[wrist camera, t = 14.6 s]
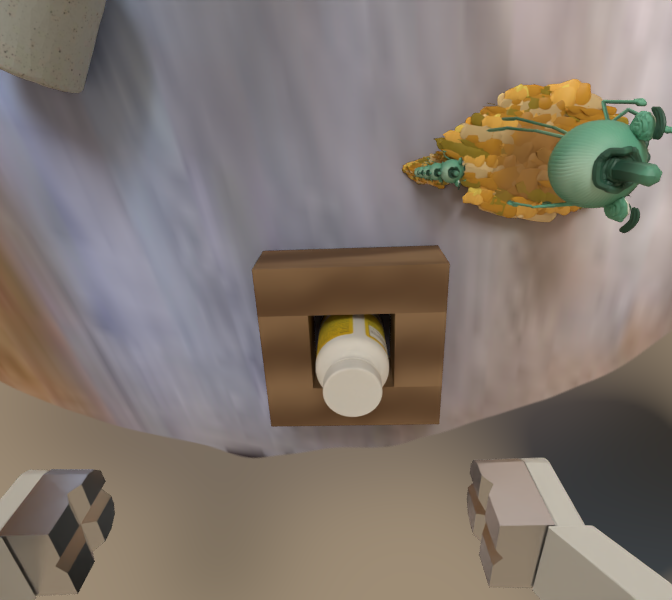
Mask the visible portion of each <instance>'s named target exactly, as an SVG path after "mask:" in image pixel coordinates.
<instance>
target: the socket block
mask: <svg viewBox="0 0 672 600" xmlns="http://www.w3.org/2000/svg"><path fill="white" fill-rule="evenodd" d="M449 267H450V263H449V262H448V260H447V259H446V257H445V256H444V254H443V253H442V251H441V250H440V248H439V246H438V245H435V246H403V247H371V248H340V249H308V250H276V251H263V252H262V254H261V255H260V257H259V259H258V260H257V262H256V264H255V265H254V267H253V269H252V275H253V283H254V291H255V299H256V307H257V315H258V323H259V331H260V339H261V347H262V355H263V363H264V371H265V379H266V387H267V395H268V403H269V411H270V419H271V426H339V425H409V424H439V419H440V403H441V388H442V373H443V358H444V343H445V328H446V313H447V298H448V282H449ZM355 314H390V358H388V359H389V374H388V378H387V380H386V383H385V384H384V386H383V387H382V398H381V401H380V403H379V404H378V406H377V407H376V408H375V409H374V410H373V411H371V412H370V413H368V414H366V415H363V416H358V417H347V416H343V415H340V414H338V413H336V412H334V411H333V410H331V409H330V408H329V406H328V405H327V404H326V402H325V400H324V397H323V387H322V386H321V385H320V383H319V381H318V379H317V376H316V356H317V353H316V339H315V324H314V316H315V315H355Z"/></svg>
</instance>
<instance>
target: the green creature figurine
mask: <svg viewBox="0 0 672 600" xmlns="http://www.w3.org/2000/svg"><path fill="white" fill-rule="evenodd" d="M497 101H498V105H497V106H491V107H485V108H483V109H482V110H480V113H474V114H473V115H472V117H468V118H467V119H466V123H462V124H460V125H459V126H457V127H456V128H455V130H454V131H452V130H449V131H447V132H446V133H445V134H443V135H444V136H445V138H442V137H441V138H436V139H435V140H436V142H437V146H438V148H439V149H440V150H442V151H443V152H442V151H440V152H439V151H437V152H436V154H430V156H427V157H423V158H421V159H418V160H416V161H411V162H408V163H406V164H405V165H403V169H402V171H403V172H404V173H406V174H407V175H408V177H409V178H410V179H412V180H414V181H415V182H416V183H417V184H420V185H421V184H422V185H423V184H425V183H427V184H429V185H432V186H435V187H438V188H439V189H441V188H442V189H444V188H445V187H444V186H445V185H448V184H450V183H454V184H455V186H457V187H458V186H459V187H458V189H459V188H460V183H461V184H462V185H463V186H465V187H468V192H467V193H466V194H465V195H464V196H463V197H462V198H463V203H472V204H474V205H478V208H479V209H480V210H483V211H487V212H490V213H493V214H497V215H499V216H504V217H506V218H516V217H518V218H522V219H526V220H531V221H538V222H551V221H552V220H553V219H554V218H555V216H556V215H557V213H559V214H561V215H567V214H568V213H570V211H573V212H575V211H577V210H578V209H581V208H582V207H583V208H600V207H603V208H604V212H605V214H606V216H607V217H608V218H610V219H613V220H615V221H618V222H622V221H623V219H624V218H625V217H626V216H627V215H628V214H629V212H630V210H631V215H630V219H629V221H628V222H627V223H626V224H625V225H624V226H622V227H621V228H620V229H619V231H620V232H622V233H626V232H628V231H630V230H631V229H632V228H634V227H635V226H636V224H637V223H638V221H639V218H640V211H639V209H638V208H635V207H633V208H632V209H631V206H630V204H629V203H628V201H627V200H626V199H625V197H626V196H630V195H629V194H630V193H631V192H632V191H633V190H634V189H635V188H636V187H637V185H638V184H642V185H644V186H647V187H649V186H651V185H653V184H655V183H657V182H659V180H660V177H661V175H662V171H661V170H660V169H659V168H658V166H657V165H655V164H651V163H648V162H649V160H650V154H649V152H648V149H647V147H648V145H649V140H651V139H652V138H653V139H657V140H659V139H660V138H661V137H662V135H663V133H667V134H668V133H672V127H669V126H666V117H665V114H664V111H663V110H662V108H661V107H652V108H651V109H652V112H653V114H654V115H652V114H651V113H650V112H647V111H641V112H639V113H638V112H636V111H634V110H632V109H630V108H627V109H626V110H624V111H623V112H622V113H620V114H616V111H617V109H616V108H615V107H610V106H606V103H611V104H636V105H637V106H646V105H647V102H646V101H645V99H643V98H639V99H634V100H603V101H602V99H601V97H599V96H597V95H595V94H591V86H590V84H589V83H581V82H580V81H579V80H577V79H572V80H569V81H566V82H563V83H561V84H550V85H547V86H544V87H542V86H539V85H535V84H534V85H522V84H520V85H519V86H516V87H514V88H512V89H509V90H508V91H506V92H505V94H504V93H501V94H500V95H499V96H498V99H497ZM488 104H490V103H488ZM494 105H495V104H494ZM498 106H499V107H498ZM483 107H484V106H483ZM628 111H629V112H630V113H632V114H634V115H636V116H635V118H634V119H633V121H632V122H631V124H630V126H629V125H628V124H629V123H628V122H629V121H628V119H627V118H626V117H622V116H623V115H624V114H626V113H627V112H628ZM654 116H655V117H654ZM631 197H632V196H631Z"/></svg>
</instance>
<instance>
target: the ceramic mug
mask: <svg viewBox="0 0 672 600" xmlns="http://www.w3.org/2000/svg"><path fill="white" fill-rule="evenodd" d="M105 4H106V0H0V69H2V70H4V71H6V72H8V73H10V74H12V75H15V76H17V77H20V78H22V79H25V80H28V81H32V82H35V83H37V84H40V85H42V86H45V87H48V88H52V89H56V90H60V91H64V92H70V93H81V92H82V91H83V90H84V86H85V82H86V77H87V73H88V69H89V65H90V62H91V58H92V54H93V50H94V46H95V42H96V37H97V33H98V29H99V25H100V22H101V19H102V15H103V12H104V8H105Z"/></svg>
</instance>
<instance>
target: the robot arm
mask: <svg viewBox="0 0 672 600" xmlns="http://www.w3.org/2000/svg"><path fill="white" fill-rule="evenodd" d="M470 475H471V478H472V481H473V484H471V485H470V486H469V487H468V492H467V508H468V516H469V520H470V525H471V529H472V532H473V534H474V536H476V537H477V538H478V539H479V540H480V541H481V546H480V552H479V556H480V559H481V562H482V565H483V569H484V572H485V575H486V579H487V582H488V585H489V587H508V588H509V587H510V588H511V587H512V588H533V591H534V593H535V594H536V595H537V596H538V597H539V598H540V599H541V600H672V584H671V583H669V582H668V581H667V580H665V579H664V578H663V577H661V576H660V575H659V574H657V573H656V572H655V571H653V570H652V569H650V568H649V567H648V566H646V565H645V564H644V563H642V562H641V561H640V560H638V559H637V558H635V557H634V556H633V555H631V554H630V553H629V552H628V551H626V550H625V549H624V548H622V547H621V546H620V545H618V544H617V543H615V542H614V541H613V540H611V539H610V538H609V537H607V536H606V535H605V534H603V533H602V532H601V531H599V530H598V529H597V528H595V527H594V526H585V525H584V523H583V521H582V519H581V517H580V516H579V514H578V512H577V510H576V509H575V507H574V505H573V503H572V502H571V500H570V498H569V496H568V495H567V493H566V491H565V489H564V487H563V486H562V484H561V482H560V480H559V479H558V477H557V475H556V473H555V472H554V470H553V468H552V466H551V464H550V463H549V461H548V460H546V459H545V458H523V459H518V458H517V459H516V458H515V459H489V460H488V459H487V460H473V461H472V463H471V468H470ZM105 482H106V481H105V479H104V477H103V475H102V472H101V471H100V470H61V469H60V470H58V469H56V470H55V469H54V470H53V469H52V470H28V471H26V472H25V473H23V474H21V475H20V476H19V478H18V479H17V480H16V481H15V482H14V484H13V485H12V486H11V487H10V488H9V490H8V491H7V492H6V493H5V494H4V496H3V497H2V498H1V499H0V600H35V599H36V596H43V595H44V596H45V595H66V594H78V592H79V591H80V589H81V587H82V585H83V583H84V581H85V579H86V577H87V575H88V573H89V572H90V570H91V568H92V566H93V564H94V562H95V561H94V556H93V551H94V550H95V549H97V548H98V547H99V546H100V545H101V544H103V543H104V542H105V541H106V539H107V537H108V534H109V532H110V530H111V528H112V523H113V519H114V515H115V511H114V502H113V500H112V497H111V495H110V494H108V493H107V492H105V491H104V490H103V489H102V487H103V485H104V483H105Z"/></svg>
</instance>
